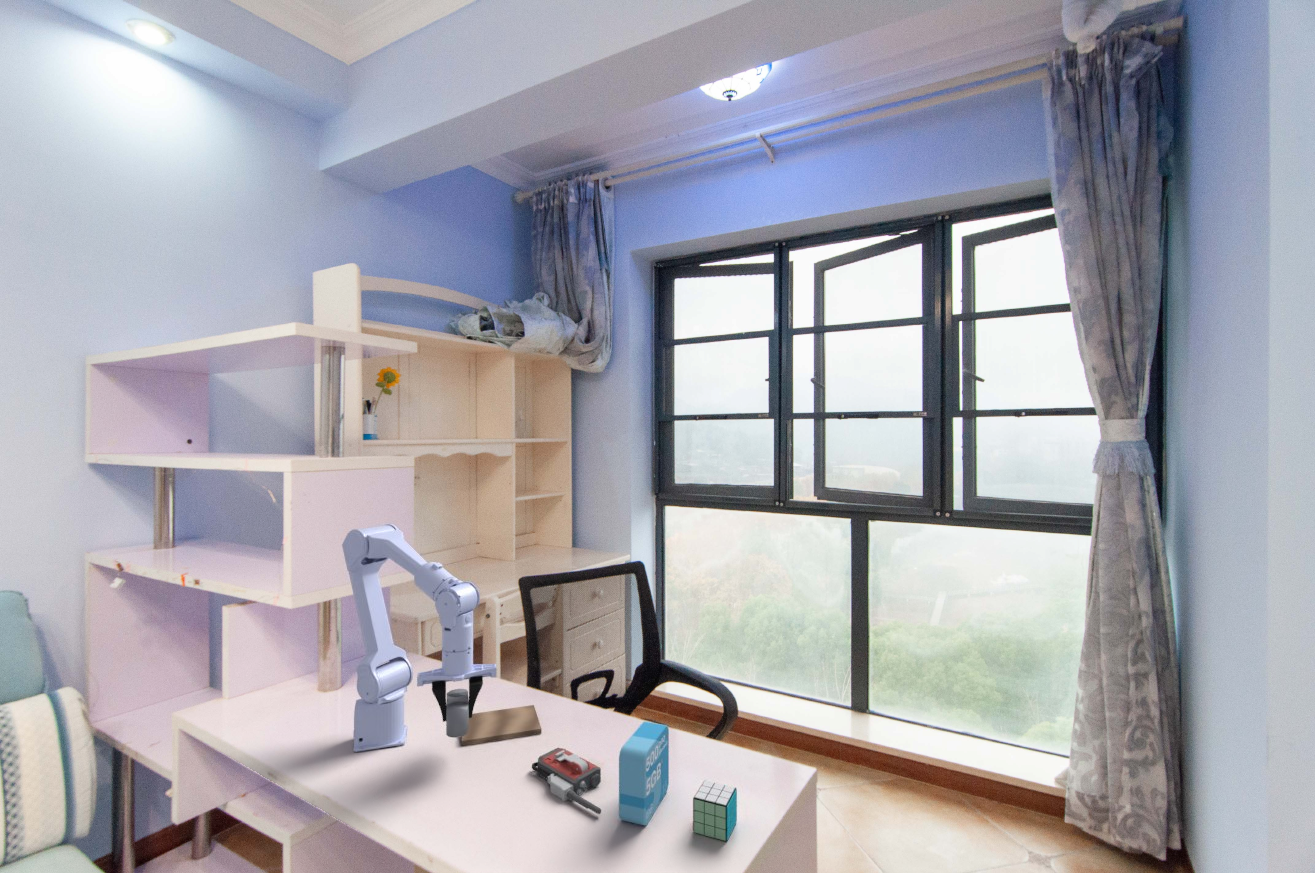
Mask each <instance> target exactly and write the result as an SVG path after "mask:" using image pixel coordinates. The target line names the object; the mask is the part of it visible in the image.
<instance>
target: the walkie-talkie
mask: <svg viewBox="0 0 1315 873" xmlns="http://www.w3.org/2000/svg"><path fill="white" fill-rule="evenodd" d="M531 769H532V771H535V772H536V773H537V776H539V777H542V778H544V779H545V780H546V781H547V784H549V785H550V786H549V787H550V793H551V794H553V795H554V796H556V797H557V798H559V799H561V801H563V802H566V801H567V800H570V801H573V802H575V803H577V804H579V805H580V806H582V807H584V808H586V809H588V810H590V811H592V812H594V813H595V814H598V815H600V814H602V809H601V808H600V807H598V806H597V805H595V804H594V803H592V802H590V801H589V800H587V799H585V798H584V797H582V795H583V793H584V792H586V791H588V790H589V789H591V788H593V787H594V788H597V787H598V786H599V785H600V783H601V781H602V778H601V777H602V776H601V774H602V773H601V767H599V766H598V765H595V764H594V763H592V762H590V761H588V760H586V759H585V758H582V757H581V756H579V755H577V754H575V753H573V752H571V751H569V750H567V749H565V748H561V747H556V748H554V749H552V750H550V751H548V752H546V753H544V754H542V755H540V756H539V757H538V758H537V761H536V762H533V763H532V764H531Z"/></svg>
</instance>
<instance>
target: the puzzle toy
mask: <svg viewBox="0 0 1315 873" xmlns="http://www.w3.org/2000/svg"><path fill="white" fill-rule="evenodd" d="M737 790H738V789H737V787H735V786H732V785H729V784H724V783H718V782H715V781H711V780H707V779H705V780H704V781H703V782H702V783H701V785H700V786H699V788H698V790H697V791H696V793H695V794H694V796H693V798H692V832H693V833H695V834H699V835H701V836H704V837H709V838H712V839H716V840H720V841H723V842H727V841H728V840H729V838H730V836H731V834H732V832H733V830H734V827H735V826H736V823H737V822H738V819H737V818H738V817H737V816H738V815H737V812H738V810H737V809H738V800H737V799H738V798H737V797H738V796H737V795H738V794H737V792H738V791H737Z"/></svg>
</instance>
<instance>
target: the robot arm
mask: <svg viewBox="0 0 1315 873" xmlns="http://www.w3.org/2000/svg"><path fill="white" fill-rule="evenodd" d="M341 547H342V551H343V555H344V556H343V557H344V560H345V561H344V562H345V565H346V569H347V570H346V571H348V575H349V580H350V583H351V584H350V585H351V589H352V594H353V598H354V603H355V607H356V613H357V617H358V618H357V619H358V621H359V626H360V631H361V635H362V640H363V644H364V649H365V655H364V656H363V657H362V659H361V660H360V662H359V663H358V664H357V665H356V667H355V669H356V670H355V671H356V675H357V676H356V679H357V680H356V691H357V693H358V696H359V699H356V700H355V705H354V710H353V711H354V712H353V714H354V715H353V733H352V734H353V750H352V751H353V752H355V753H357V752H364V751H371V750H376V749H382V748H388V747H395V746H402V745H405V744H406V741H407V740H406V738H407V731H408V725H407V724H405V693H407V692H408V686H409V685H411V683H412V681H413V678H414V669H413V666H412V664H411V662H410V661H409V659H408V656H407V653H406V650H405V649H404V648H401V647H399V646H397V645H395V644H394V643H395V642H394V640H393V635H392V634H393V633H392V630H391V626H390V621H389V616H388V613H387V608H386V607H387V606H386V604H385V603H386V602H385V598H384V594H383V590H382V589H383V588H382V585H381V581H380V576H379V571H380V569H381V568H382V566H383V565H384V564H385V563H387V561H388V560H391V561H393V562H394V563H395V564H397V565H398V566H400V567H401V568H402V569H404V570H405V571H407V573H409V574H411V575H413V579H414V580H413V582H414V585H415V586H416V587H417V588H418V589H419V590H420V591H421V592H423V593H424V594H425V595H426V596H427V597H429V598H430V599H431V600H432V601H433V602H434V605H435V609H436V612H437V614H438V616H439V624H440V626H441V630H442V632H441V635H442V636H441V637H442V638H441V640H442V641H441V646H442V647H441V648H442V649H441V667H440V668H436V669H431V670H427V671H422V672H420V671H419V672H417V676H416V686H417V687H418V688H419V687H423V686H424V685H429V684H431V691H432V693H433V695H434V697H435V699H436V701H437V703H438V706H439V709H440V711H441V712H440V713H441V718H442V722H446V704H447V683H448V682H455V683H456V682H462V681H464V680H468V701H469V718H472V714H474V713H473V711H474V708H475V704H476V701H477V698H478V697H479V696H478V695H479V693H480V692H481V690H482V687H483V683H484V679H483V678H489V677H490V678H497V677H498V676H497V675H498V674H497V673H498V672H497V671H498V670H497V669H498V668H497V664H496V663H491V664H489V663H487V664H481V663H479V664H478V663H477V664H476V663H475V664H474V610H476V609H477V608H478V606H479V604H480V599H481V597H480V591H479V589H478V588H477V586H476V585H475V584H474V583H473V582H472V581H462V580H459V579H458V577H455V576H454V575H452V574H451V573H450V572H449V571H448V570H446V569H445V568H444V567H443V564H442V563H441V562H435V561H430V562H427V560H425V559H424V557H422V556H421V555H420V554H419V552H417V551H416V550H415V549H414V548H413V547H412V546H411V545H410V544H409V543H408V542H407V541H406V540H405V536H404V531H402V530H400V529H399V528H398V526H396V525H395V524H392V523H388V524H387V523H386V524H384V525H378V526H373V527H366V528H361V529H358V528H356V529H355V528H354V529H351V530H350V531H349V532H347V534H346V536H345V538H344V540H343V542H342V544H341Z"/></svg>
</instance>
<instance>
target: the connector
mask: <svg viewBox="0 0 1315 873" xmlns="http://www.w3.org/2000/svg"><path fill="white" fill-rule="evenodd" d="M445 722H446V724H445V725H446V729H445V730H446V731H445V733H446V734H445V735H446V736H447V737H448V738H460V737H461V738H462V736H464V735H466V734H467V733H468V731H469V690H468V689H465V688H455V689H452V690H449V691H448V692H446V721H445Z"/></svg>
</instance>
